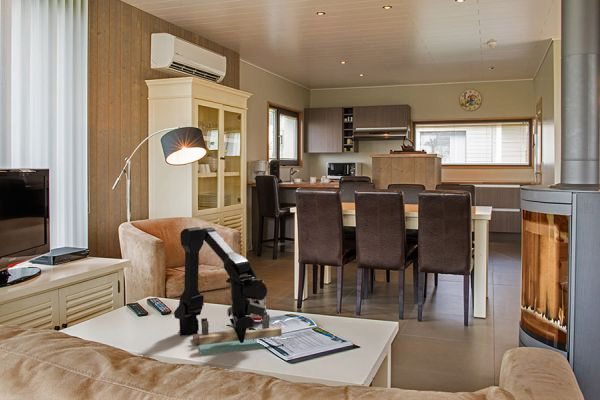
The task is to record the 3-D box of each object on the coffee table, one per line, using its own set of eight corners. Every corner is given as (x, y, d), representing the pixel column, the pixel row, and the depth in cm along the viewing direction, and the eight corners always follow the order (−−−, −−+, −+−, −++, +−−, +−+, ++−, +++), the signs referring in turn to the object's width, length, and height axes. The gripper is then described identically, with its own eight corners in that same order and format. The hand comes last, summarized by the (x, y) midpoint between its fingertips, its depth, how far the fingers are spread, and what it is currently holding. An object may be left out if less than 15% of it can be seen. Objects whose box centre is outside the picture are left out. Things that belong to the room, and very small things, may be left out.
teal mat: (201, 355, 174) (201, 353, 174) (198, 347, 182) (198, 345, 182) (284, 345, 181) (284, 343, 181) (277, 337, 190) (277, 336, 190)
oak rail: (200, 345, 177) (199, 337, 177) (199, 342, 179) (199, 335, 179) (281, 335, 184) (281, 328, 184) (280, 333, 187) (279, 326, 187)
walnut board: (195, 345, 184) (194, 341, 184) (193, 338, 192) (192, 334, 191) (279, 335, 192) (279, 331, 192) (274, 329, 200) (273, 325, 200)
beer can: (264, 323, 209) (262, 283, 208) (248, 322, 210) (247, 282, 209) (268, 318, 215) (266, 279, 214) (253, 318, 216) (251, 279, 215)
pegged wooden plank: (203, 339, 186) (202, 322, 186) (201, 335, 191) (201, 318, 190) (270, 331, 193) (269, 315, 193) (267, 327, 197) (266, 311, 197)
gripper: (268, 300, 174) (270, 347, 175) (257, 288, 192) (258, 331, 193) (235, 303, 171) (236, 351, 172) (226, 291, 189) (227, 334, 190)
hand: (241, 341), depth 182 cm, fingers closed on oak rail, 2 cm apart
